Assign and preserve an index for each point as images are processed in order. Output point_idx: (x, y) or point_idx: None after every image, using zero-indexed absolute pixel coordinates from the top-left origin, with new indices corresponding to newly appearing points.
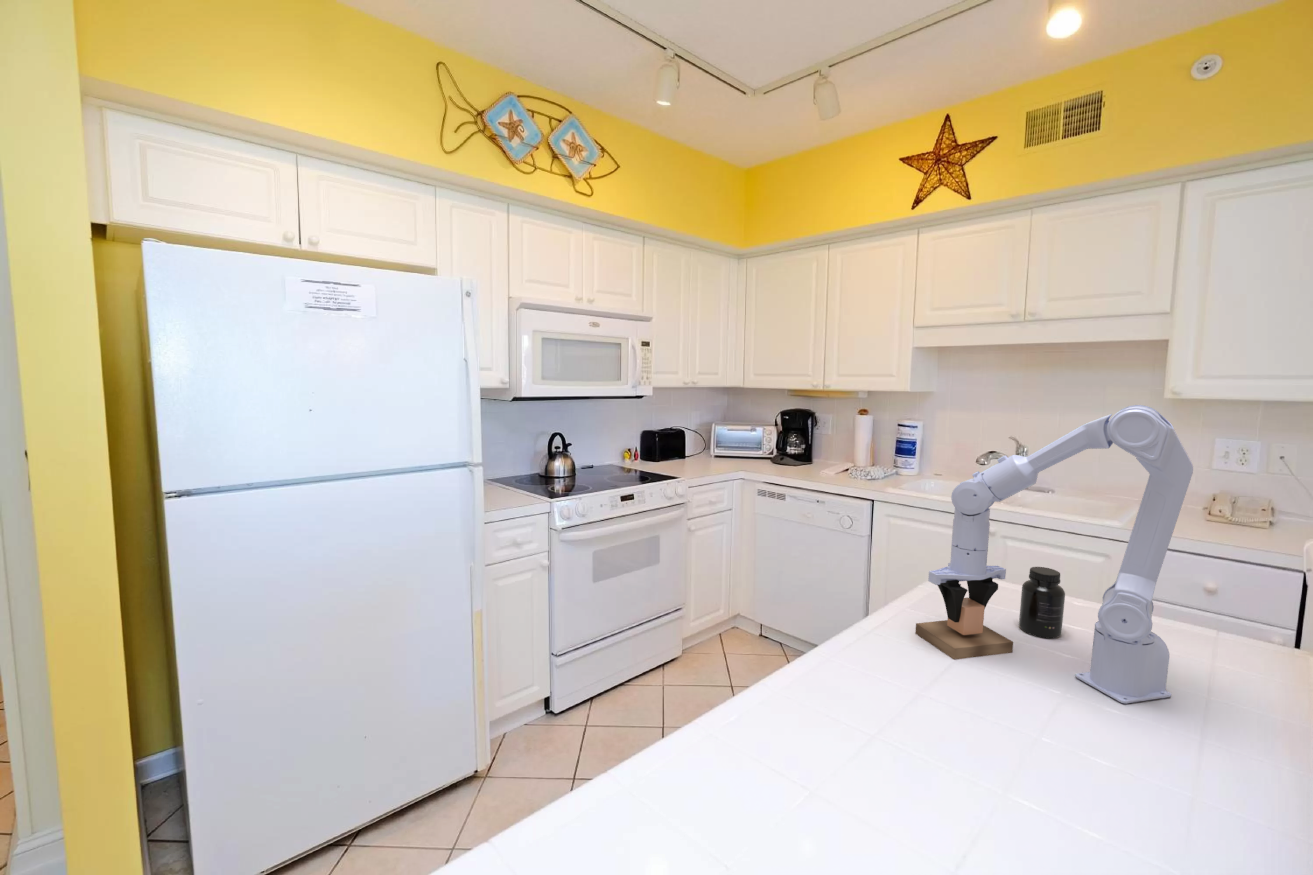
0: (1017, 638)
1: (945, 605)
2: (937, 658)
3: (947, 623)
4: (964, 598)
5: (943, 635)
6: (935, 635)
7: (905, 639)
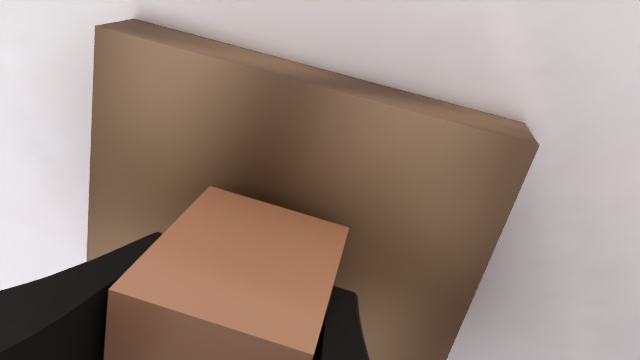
0: (619, 331)
1: (91, 261)
2: (56, 244)
3: (203, 192)
4: (259, 349)
5: (134, 214)
6: (93, 192)
7: (32, 47)
